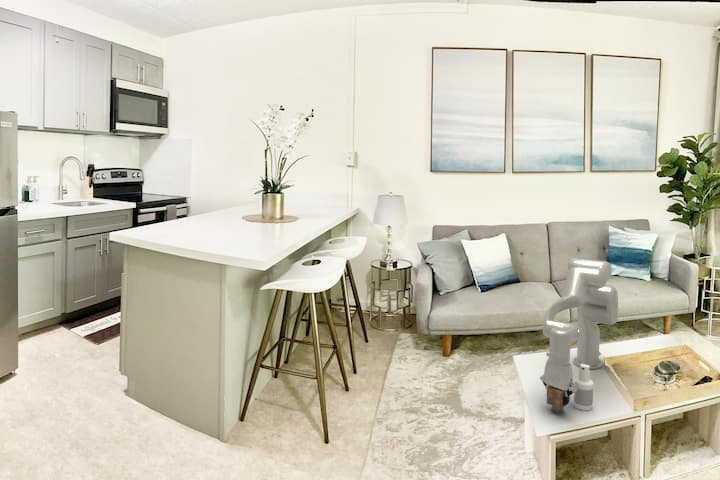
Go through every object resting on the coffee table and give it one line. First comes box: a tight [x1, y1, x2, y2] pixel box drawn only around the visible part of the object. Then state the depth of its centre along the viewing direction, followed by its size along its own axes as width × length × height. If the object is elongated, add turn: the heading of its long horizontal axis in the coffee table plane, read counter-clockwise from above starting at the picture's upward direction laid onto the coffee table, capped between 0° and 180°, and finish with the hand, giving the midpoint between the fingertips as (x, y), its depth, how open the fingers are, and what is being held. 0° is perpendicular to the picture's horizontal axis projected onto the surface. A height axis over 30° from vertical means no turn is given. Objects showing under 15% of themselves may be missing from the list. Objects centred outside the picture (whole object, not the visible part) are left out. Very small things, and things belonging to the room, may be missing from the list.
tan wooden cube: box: [546, 385, 570, 409], centre depth 188 cm, size 6×6×7 cm
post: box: [551, 405, 564, 415], centre depth 189 cm, size 3×3×8 cm
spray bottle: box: [573, 364, 594, 412], centre depth 191 cm, size 7×7×18 cm
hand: (557, 400), depth 189 cm, fingers closed on tan wooden cube, 5 cm apart
